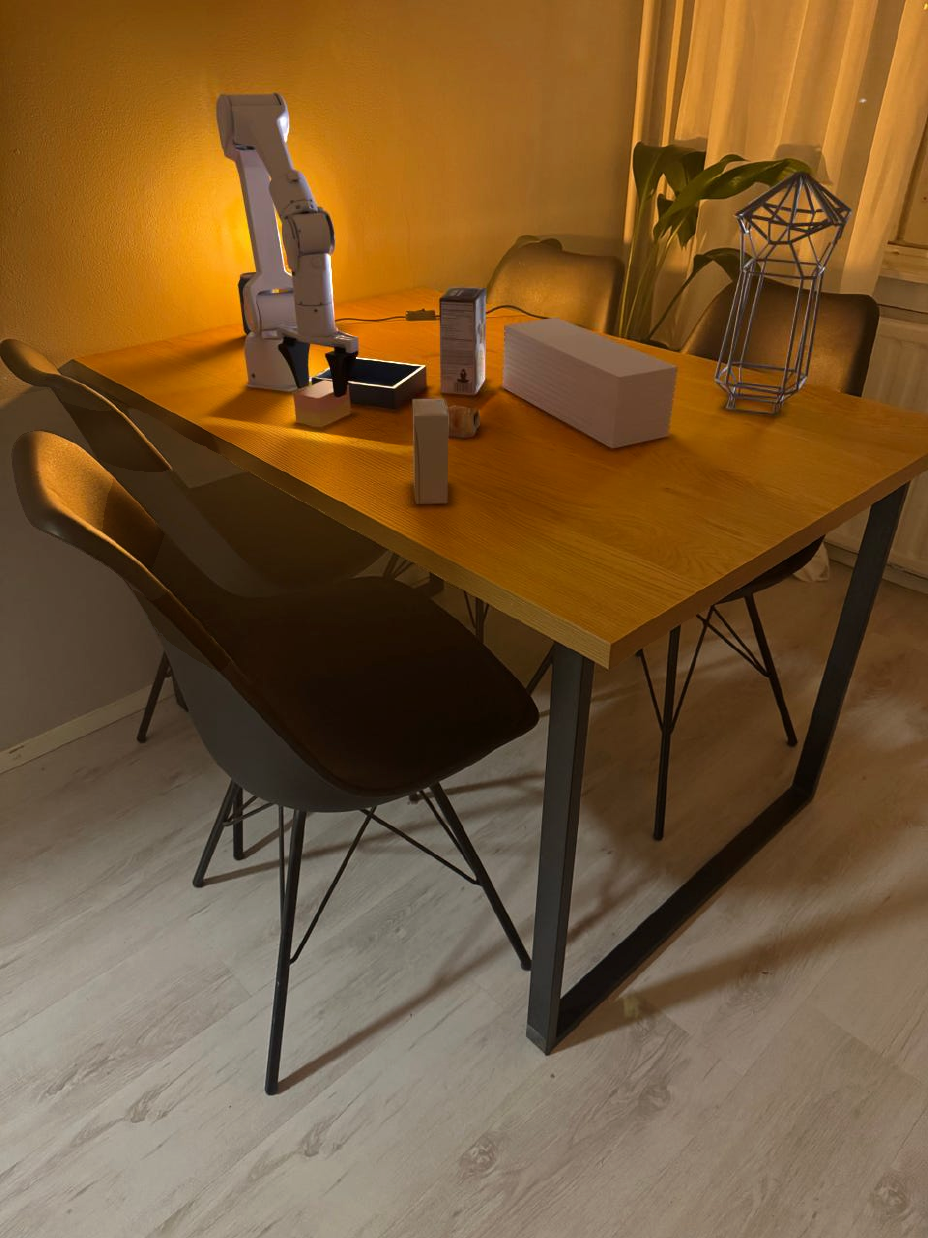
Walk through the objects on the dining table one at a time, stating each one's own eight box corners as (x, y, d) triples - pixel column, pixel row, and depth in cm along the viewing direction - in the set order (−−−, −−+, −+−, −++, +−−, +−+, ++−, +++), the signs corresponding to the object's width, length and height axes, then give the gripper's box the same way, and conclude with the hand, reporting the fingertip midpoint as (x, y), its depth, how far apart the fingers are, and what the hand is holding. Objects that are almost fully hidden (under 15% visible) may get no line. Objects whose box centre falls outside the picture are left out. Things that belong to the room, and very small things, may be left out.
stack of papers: (502, 387, 153) (504, 324, 147) (553, 378, 157) (557, 317, 151) (611, 448, 129) (619, 377, 123) (668, 436, 134) (678, 366, 128)
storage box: (313, 400, 147) (311, 377, 145) (349, 377, 157) (348, 356, 155) (395, 411, 142) (394, 388, 140) (426, 387, 153) (426, 365, 151)
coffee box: (450, 378, 157) (450, 285, 148) (485, 380, 156) (487, 287, 147) (439, 394, 150) (438, 297, 141) (476, 397, 149) (477, 299, 140)
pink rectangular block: (296, 423, 138) (293, 392, 135) (327, 409, 143) (324, 379, 141) (320, 429, 136) (317, 398, 133) (351, 415, 141) (349, 385, 138)
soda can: (251, 330, 184) (243, 270, 178) (282, 331, 183) (276, 271, 177) (239, 339, 178) (231, 277, 172) (272, 340, 177) (265, 278, 171)
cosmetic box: (413, 485, 118) (411, 397, 112) (446, 484, 118) (445, 397, 112) (415, 505, 113) (412, 414, 106) (449, 504, 113) (449, 414, 107)
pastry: (414, 434, 134) (413, 410, 132) (425, 420, 139) (424, 396, 137) (474, 439, 132) (474, 415, 130) (482, 424, 138) (483, 401, 136)
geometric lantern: (719, 385, 154) (756, 163, 135) (812, 399, 148) (864, 168, 129) (698, 413, 142) (735, 173, 123) (798, 428, 136) (853, 180, 117)
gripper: (369, 302, 129) (374, 392, 137) (294, 290, 136) (303, 376, 143) (339, 312, 124) (345, 404, 132) (263, 299, 131) (273, 388, 138)
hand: (321, 391), depth 137 cm, fingers open, 7 cm apart
